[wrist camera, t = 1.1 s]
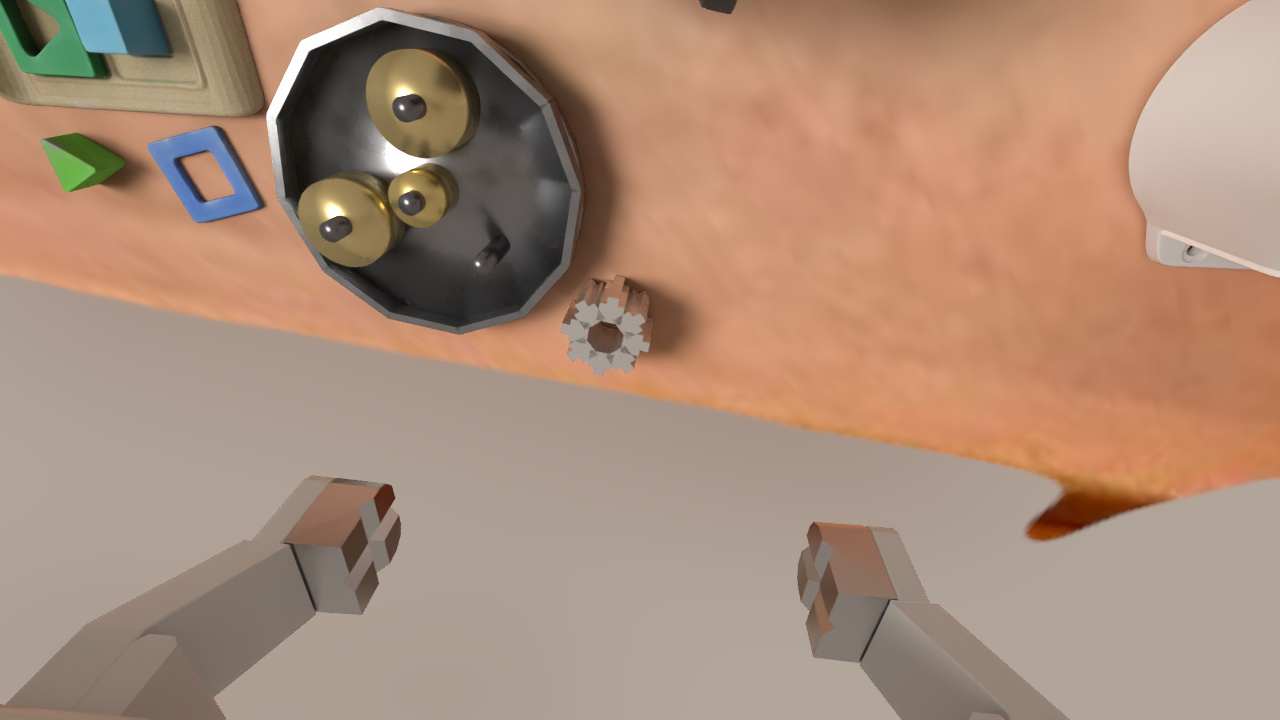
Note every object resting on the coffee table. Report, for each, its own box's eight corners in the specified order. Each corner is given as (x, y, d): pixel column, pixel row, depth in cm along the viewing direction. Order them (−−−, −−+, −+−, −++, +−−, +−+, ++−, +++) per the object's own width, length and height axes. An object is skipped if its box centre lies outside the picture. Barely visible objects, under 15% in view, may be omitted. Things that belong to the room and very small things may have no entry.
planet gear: (661, 286, 42) (659, 308, 39) (643, 357, 46) (639, 384, 42) (577, 266, 42) (567, 287, 39) (565, 339, 45) (555, 364, 42)
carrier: (609, 58, 35) (595, 63, 30) (563, 341, 46) (547, 378, 41) (275, -25, 34) (205, -34, 29) (310, 283, 45) (263, 314, 40)
